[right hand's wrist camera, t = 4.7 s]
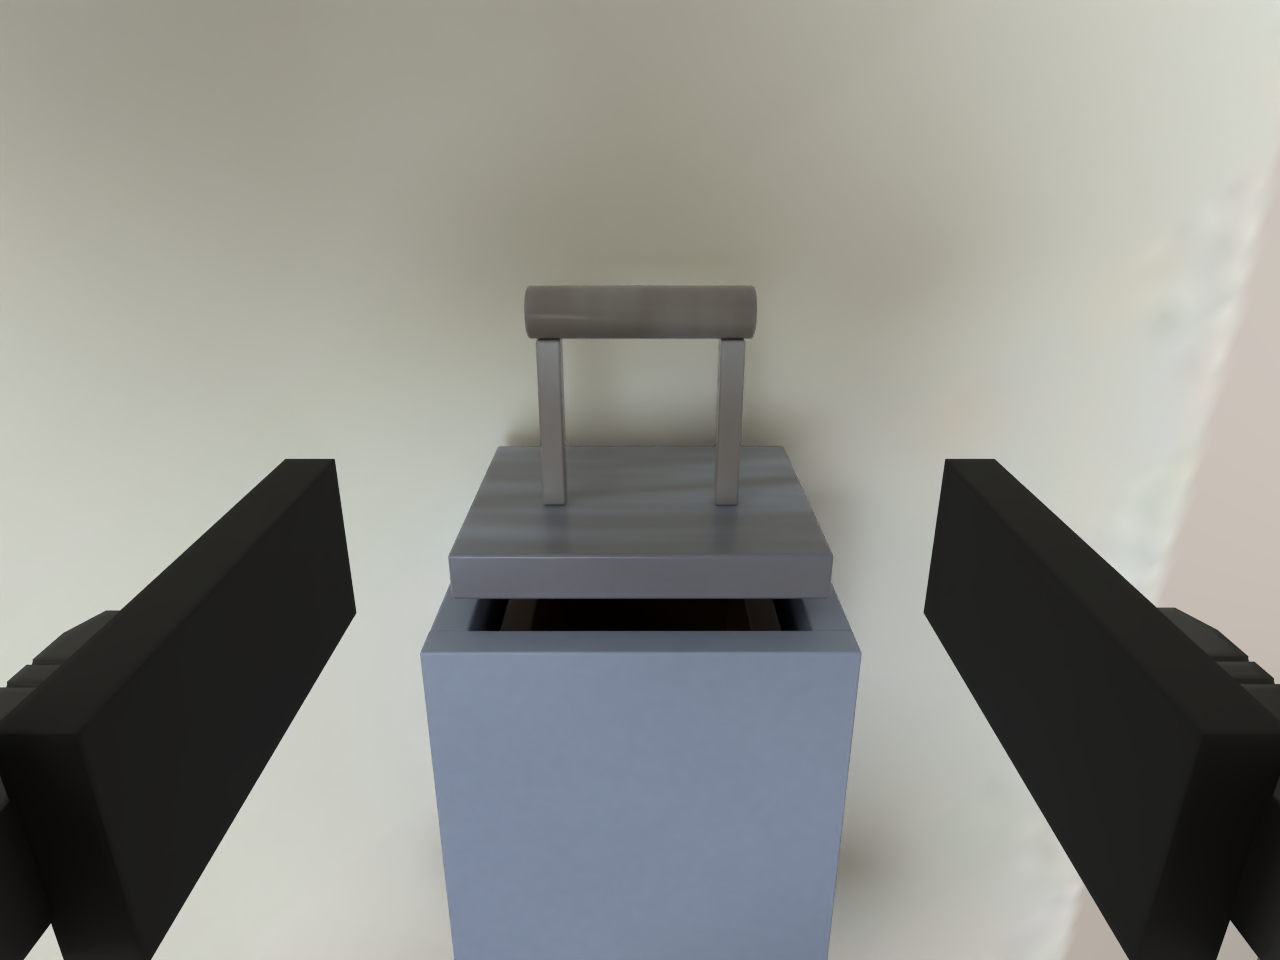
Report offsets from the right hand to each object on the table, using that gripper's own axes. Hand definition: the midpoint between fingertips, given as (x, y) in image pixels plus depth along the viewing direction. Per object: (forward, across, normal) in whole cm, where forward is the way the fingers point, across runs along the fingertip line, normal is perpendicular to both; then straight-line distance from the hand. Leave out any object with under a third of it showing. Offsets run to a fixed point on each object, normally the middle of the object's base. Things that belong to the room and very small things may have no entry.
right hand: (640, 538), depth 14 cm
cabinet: (+14, 0, -15) cm, 21 cm away
